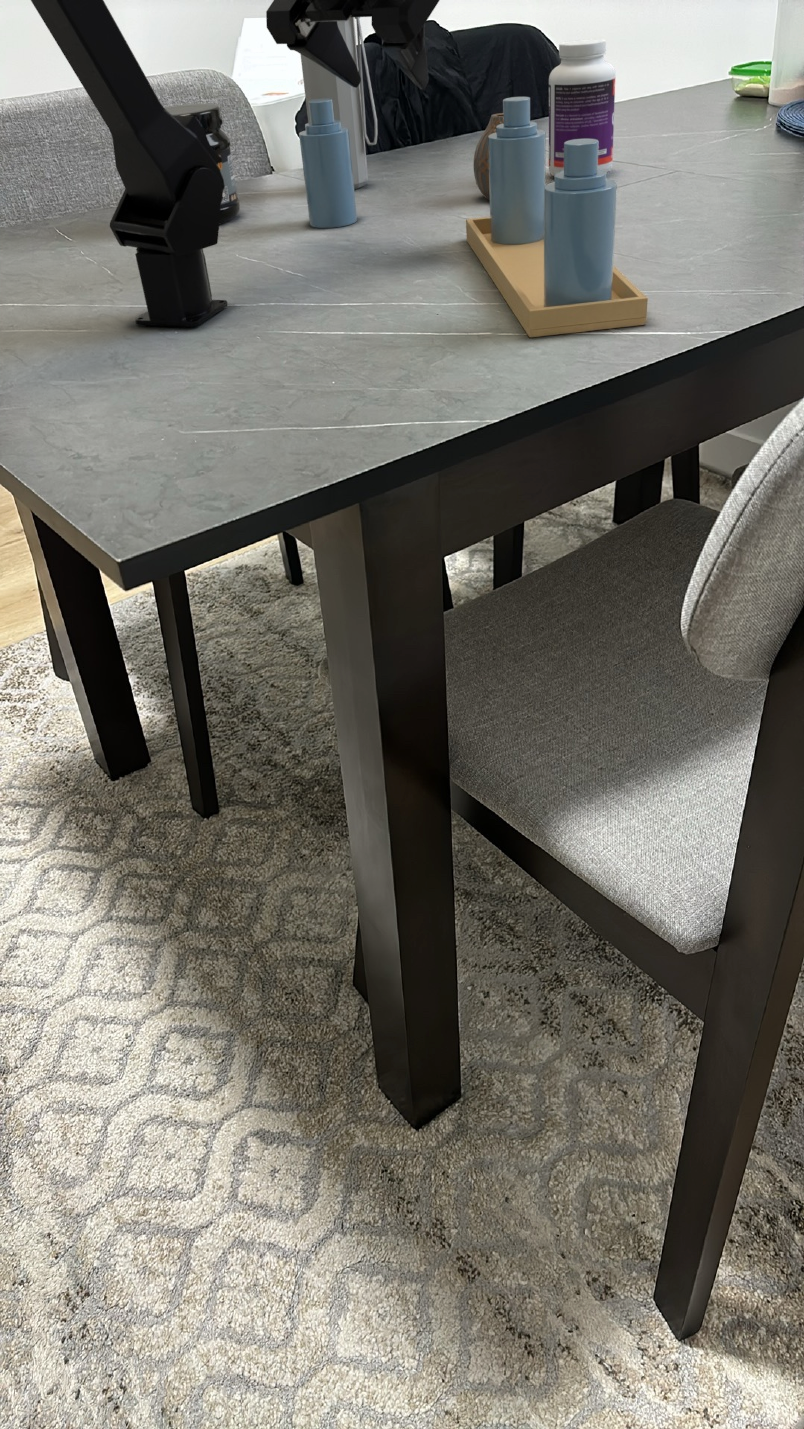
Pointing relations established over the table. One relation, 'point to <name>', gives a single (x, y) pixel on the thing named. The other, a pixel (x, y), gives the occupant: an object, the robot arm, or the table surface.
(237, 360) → the table surface
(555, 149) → the pill bottle
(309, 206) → the loose bottle
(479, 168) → the vase
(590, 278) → the bottle
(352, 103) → the water bottle
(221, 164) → the supplement container
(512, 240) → the bottle
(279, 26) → the robot arm
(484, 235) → the tray
